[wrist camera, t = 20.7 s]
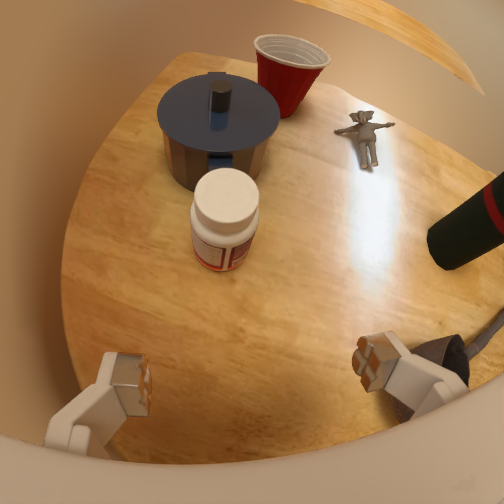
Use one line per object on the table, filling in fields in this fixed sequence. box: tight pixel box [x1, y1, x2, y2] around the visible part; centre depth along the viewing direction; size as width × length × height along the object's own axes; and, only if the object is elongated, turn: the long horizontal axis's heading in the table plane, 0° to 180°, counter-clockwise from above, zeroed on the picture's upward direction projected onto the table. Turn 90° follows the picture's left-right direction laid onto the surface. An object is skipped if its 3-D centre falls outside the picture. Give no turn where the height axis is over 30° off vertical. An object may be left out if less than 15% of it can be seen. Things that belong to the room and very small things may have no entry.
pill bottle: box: [190, 168, 259, 271], centre depth 28 cm, size 6×6×11 cm
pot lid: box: [157, 74, 280, 155], centre depth 28 cm, size 14×14×4 cm
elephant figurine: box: [334, 111, 395, 168], centre depth 40 cm, size 10×6×9 cm
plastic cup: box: [253, 34, 331, 118], centre depth 37 cm, size 11×11×12 cm
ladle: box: [391, 310, 504, 424], centre depth 31 cm, size 12×38×10 cm, turn 107°
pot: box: [163, 72, 270, 192], centre depth 33 cm, size 13×18×8 cm
